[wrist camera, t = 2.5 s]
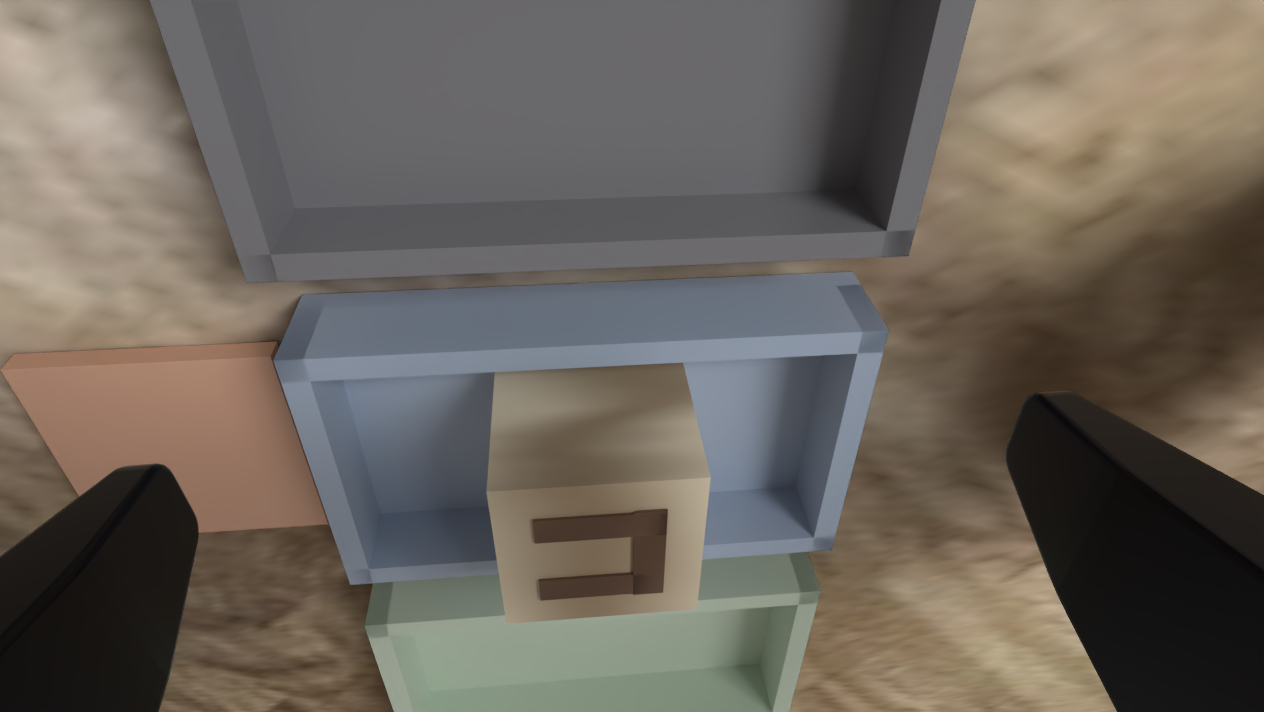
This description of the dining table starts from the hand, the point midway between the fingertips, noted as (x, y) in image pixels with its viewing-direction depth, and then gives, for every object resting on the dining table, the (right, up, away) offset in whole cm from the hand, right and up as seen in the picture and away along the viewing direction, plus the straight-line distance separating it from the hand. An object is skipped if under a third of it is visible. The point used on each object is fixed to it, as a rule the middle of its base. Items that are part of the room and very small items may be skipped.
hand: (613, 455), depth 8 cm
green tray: (-1, -8, +19) cm, 20 cm away
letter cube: (-1, -1, +12) cm, 12 cm away
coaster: (-11, -1, +12) cm, 17 cm away
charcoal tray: (-1, +7, +7) cm, 10 cm away
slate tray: (-1, 0, +13) cm, 13 cm away
